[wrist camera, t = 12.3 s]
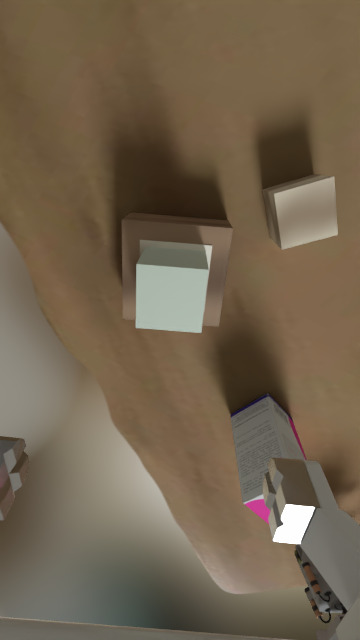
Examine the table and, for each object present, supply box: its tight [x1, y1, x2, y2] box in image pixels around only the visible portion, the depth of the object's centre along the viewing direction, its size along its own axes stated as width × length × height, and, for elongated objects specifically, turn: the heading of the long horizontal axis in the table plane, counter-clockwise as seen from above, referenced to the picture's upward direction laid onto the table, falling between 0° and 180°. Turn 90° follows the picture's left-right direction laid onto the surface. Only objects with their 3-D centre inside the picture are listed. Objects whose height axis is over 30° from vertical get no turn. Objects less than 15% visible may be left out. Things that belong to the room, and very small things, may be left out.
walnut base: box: [122, 212, 233, 327], centre depth 29 cm, size 9×9×4 cm
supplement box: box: [231, 393, 307, 524], centre depth 34 cm, size 6×6×12 cm
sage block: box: [136, 247, 209, 333], centre depth 25 cm, size 5×5×5 cm
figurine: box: [295, 544, 347, 640], centre depth 42 cm, size 9×12×15 cm
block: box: [263, 174, 338, 249], centre depth 26 cm, size 4×4×4 cm
